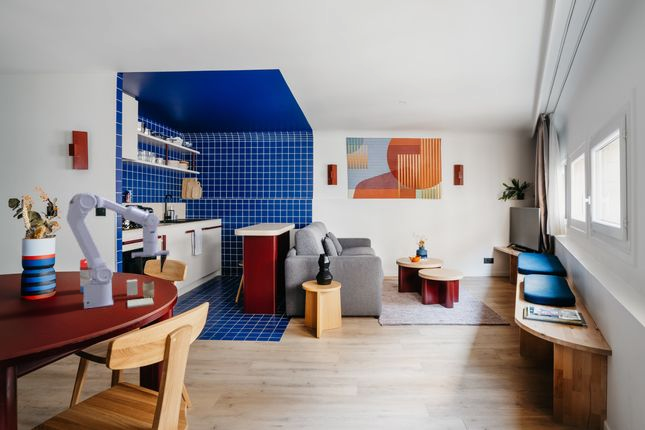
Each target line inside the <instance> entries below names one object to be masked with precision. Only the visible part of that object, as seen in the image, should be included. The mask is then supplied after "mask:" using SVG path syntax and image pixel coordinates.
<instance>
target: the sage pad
mask: <svg viewBox="0 0 645 430" xmlns="http://www.w3.org/2000/svg"><path fill="white" fill-rule="evenodd" d="M153 305H155V303H154V300H153V297H151V298H140V299H139V298H138V299H131V300H129V299H128V300H127V308H128V309H130V308H137V307H145V306H153Z"/></svg>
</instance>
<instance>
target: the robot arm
mask: <svg viewBox="0 0 645 430" xmlns="http://www.w3.org/2000/svg"><path fill="white" fill-rule="evenodd" d="M95 208H97V209H98V208H103V209H107V210H108V211H109V210H110V211H112V212H115V213H119V214H120V215H123V218H124V219H125V220H128V221H130V222H132V223H133V222H134V223H135V224H138V225H140V226H141V227H142V244H143V247H142V248H143V251H137V252H131V259H133V258H134V261H135V263H136V264H137V267H138V269H139V272H140V273H139V274H140V275H143V274H144V272H143V271H144V270H143V269H144V268H143V258H146V257H148V258H149V257H160V273H163V268H164V265H165V262H166V260H167V257H168V256H170V250H159V239H158V236H159V235H158V233H159V232H158V226H159V224H160V222H161V221H160V220H159V217H158V216H157V215H156V214H155V213H149V211H148V210H143V209H140V208H139V207H138V206H137V205H129V206H127V207H126V206H124V205H122V204H121V203H120V204H119V203H118V202H115V201H112V200H111V199H108V198H105V197H103V196H100V195H96V194H92V193H91V192H90V193H89V192H84V193H81V192H80V193H76V194H75V195H74V196H72V198H71V199H70V201H69V202H68V210H67V215H66V222H67V224H68V226H69V227H70V230H71V232H72V233H73V236H74V238H75V239H76V242H77V244H78V246H79V248H80V250H81V252H82V254H83V257H84V259H86V262H87V265H88V268H89V276H90V277H91V278H92V279H91V281H90V283H87V284H84V293H83V298H82V299H83V303H82V304H83V309H93V308H101V307H102V308H103V307H109V306H113V305H114V299H113V292H112V291H113V290H112V289H113V287H112V286H113V285H112V278H113V275H114V270H113V269H112V268H111V267H110V266H108V265H107V263H106V262H105V261H106V260H104V258H103V257H102V256H101V254H100V251H99V250H98V247H97V245H96V243H95V241H94V238H93V237H92V235H91V233H90V230H89V228H88V226H87V224H86V222H85V219H86V217H87V216H88V213H89V212H91V211H92V210H93V209H95Z"/></svg>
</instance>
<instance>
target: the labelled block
mask: <svg viewBox="0 0 645 430" xmlns="http://www.w3.org/2000/svg"><path fill="white" fill-rule="evenodd" d="M142 296H143V297H144V298H143V299H145V298H150V297H151V298H155V283H154V281H152V280H151V281H144V282H142Z"/></svg>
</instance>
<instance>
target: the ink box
mask: <svg viewBox="0 0 645 430" xmlns="http://www.w3.org/2000/svg"><path fill="white" fill-rule="evenodd" d="M79 279H80V280H79V282H80V283H79V285H80V294H82V293H83V294H84V284H87V283H90V281H91V279H92V278H91V277H90V276H89V268H88V265H87V260H86V258H83V259H80V261H79Z"/></svg>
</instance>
